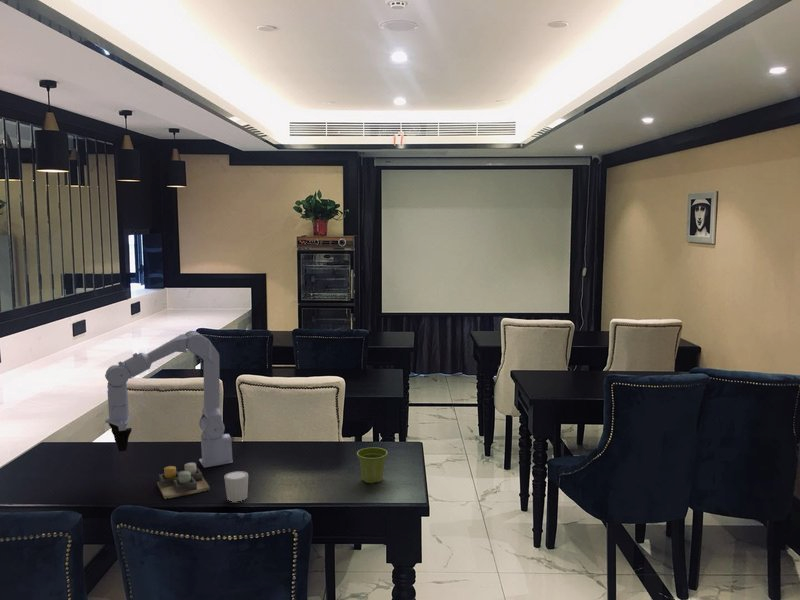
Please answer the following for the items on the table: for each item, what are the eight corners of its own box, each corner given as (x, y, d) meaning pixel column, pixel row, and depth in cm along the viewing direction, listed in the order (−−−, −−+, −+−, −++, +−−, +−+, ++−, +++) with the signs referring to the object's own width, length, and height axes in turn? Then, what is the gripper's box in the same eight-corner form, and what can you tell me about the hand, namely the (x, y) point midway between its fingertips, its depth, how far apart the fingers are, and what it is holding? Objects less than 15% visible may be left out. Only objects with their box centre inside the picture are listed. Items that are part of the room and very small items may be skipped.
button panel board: (200, 476, 216) (200, 467, 216) (209, 490, 205) (209, 480, 205) (157, 484, 210) (156, 475, 210) (164, 499, 199) (163, 489, 199)
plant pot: (392, 476, 215) (391, 449, 214) (381, 487, 206) (381, 459, 205) (364, 472, 218) (363, 446, 217) (352, 483, 209) (351, 456, 208)
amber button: (175, 474, 211) (174, 465, 211) (177, 478, 208) (176, 468, 208) (163, 476, 210) (163, 467, 209) (165, 480, 207) (165, 470, 206)
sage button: (189, 479, 207) (189, 470, 207) (192, 483, 204) (191, 473, 204) (178, 482, 205) (177, 472, 205) (180, 486, 202) (179, 476, 202)
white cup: (227, 494, 202) (226, 471, 202) (250, 493, 203) (249, 470, 202) (223, 503, 196) (222, 480, 195) (247, 502, 196) (246, 479, 195)
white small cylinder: (195, 471, 214) (194, 461, 214) (197, 474, 211) (197, 465, 211) (184, 473, 212) (183, 463, 212) (186, 476, 210) (185, 467, 209)
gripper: (102, 400, 217) (104, 442, 219) (106, 412, 204) (109, 456, 206) (126, 397, 220) (128, 439, 222) (132, 408, 208) (134, 452, 209)
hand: (121, 447), depth 214 cm, fingers open, 7 cm apart
